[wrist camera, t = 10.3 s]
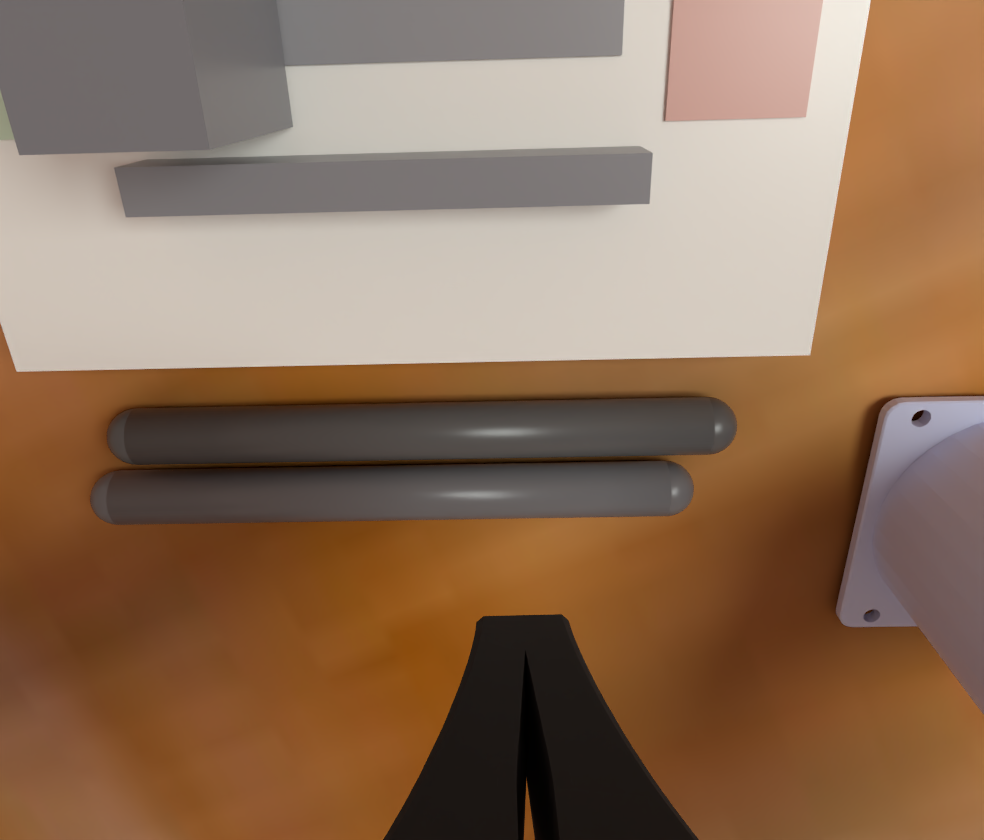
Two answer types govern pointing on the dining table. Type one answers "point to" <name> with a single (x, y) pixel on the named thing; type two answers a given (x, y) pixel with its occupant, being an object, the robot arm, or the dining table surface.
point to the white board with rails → (450, 250)
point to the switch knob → (141, 74)
